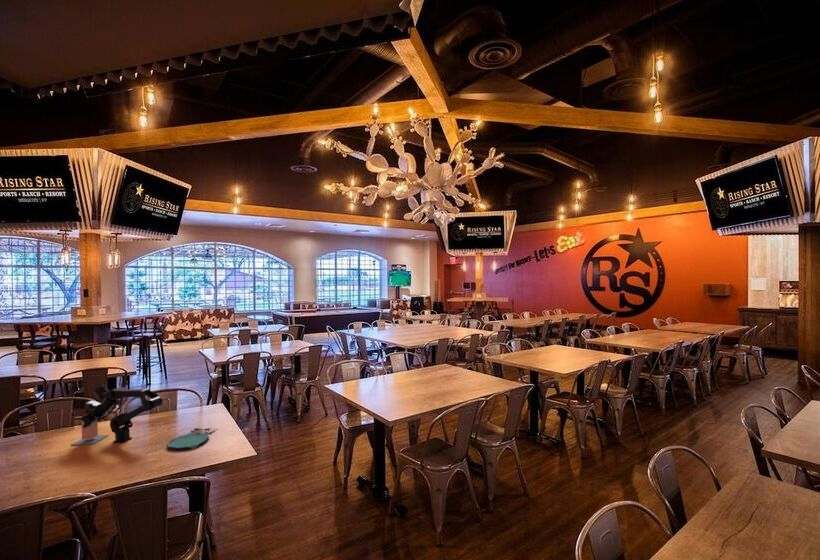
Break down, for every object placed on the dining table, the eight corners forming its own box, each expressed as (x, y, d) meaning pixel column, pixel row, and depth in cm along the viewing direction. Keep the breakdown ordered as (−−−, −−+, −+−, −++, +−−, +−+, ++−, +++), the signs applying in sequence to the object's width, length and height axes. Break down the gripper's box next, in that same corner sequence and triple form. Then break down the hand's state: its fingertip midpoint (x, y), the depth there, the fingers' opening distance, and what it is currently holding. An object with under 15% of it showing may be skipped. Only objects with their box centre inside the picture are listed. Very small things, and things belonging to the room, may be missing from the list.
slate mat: (108, 435, 231) (108, 435, 231) (93, 444, 219) (93, 443, 219) (86, 436, 230) (86, 436, 230) (70, 445, 218) (70, 444, 218)
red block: (97, 435, 227) (97, 417, 227) (91, 438, 222) (90, 421, 222) (88, 435, 227) (88, 418, 227) (82, 439, 222) (81, 421, 222)
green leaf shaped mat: (158, 451, 208) (158, 447, 208) (192, 430, 238) (192, 426, 238) (195, 451, 207) (195, 447, 207) (224, 430, 237) (224, 426, 237)
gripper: (107, 391, 234) (88, 410, 233) (83, 401, 215) (62, 422, 214) (121, 403, 234) (102, 423, 234) (98, 414, 216) (78, 436, 215)
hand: (87, 425), depth 224 cm, fingers closed on red block, 5 cm apart
